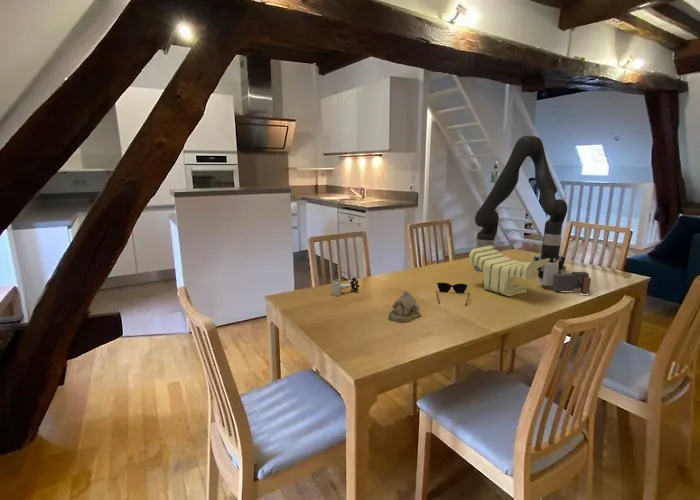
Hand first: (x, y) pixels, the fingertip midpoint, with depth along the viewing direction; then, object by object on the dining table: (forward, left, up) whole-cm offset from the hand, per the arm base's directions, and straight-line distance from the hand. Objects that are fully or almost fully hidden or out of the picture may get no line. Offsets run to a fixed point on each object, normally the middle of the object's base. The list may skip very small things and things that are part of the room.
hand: (547, 277), depth 186 cm
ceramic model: (-72, -30, -5) cm, 79 cm away
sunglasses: (-48, -12, -6) cm, 50 cm away
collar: (+8, -6, -4) cm, 11 cm away
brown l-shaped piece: (+9, -1, -5) cm, 10 cm away
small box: (0, 0, -3) cm, 3 cm away
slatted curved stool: (-21, -3, -5) cm, 22 cm away
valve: (-95, -3, -5) cm, 96 cm away
